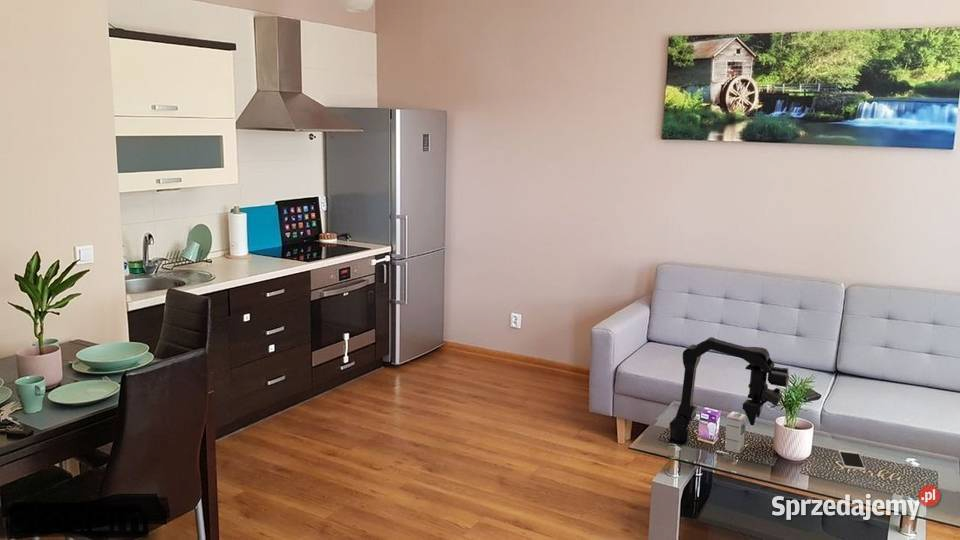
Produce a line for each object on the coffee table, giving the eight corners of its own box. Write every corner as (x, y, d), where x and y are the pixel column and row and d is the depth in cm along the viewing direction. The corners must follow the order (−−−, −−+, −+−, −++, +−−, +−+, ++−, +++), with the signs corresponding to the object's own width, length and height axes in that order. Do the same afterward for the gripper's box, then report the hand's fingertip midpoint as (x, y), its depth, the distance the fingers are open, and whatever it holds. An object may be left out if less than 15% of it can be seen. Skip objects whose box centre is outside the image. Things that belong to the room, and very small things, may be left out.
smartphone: (858, 453, 293) (858, 451, 293) (865, 471, 279) (866, 469, 279) (838, 451, 295) (838, 449, 295) (844, 469, 281) (844, 467, 281)
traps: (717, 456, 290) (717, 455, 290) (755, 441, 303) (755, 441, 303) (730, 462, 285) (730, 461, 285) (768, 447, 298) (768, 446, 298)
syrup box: (739, 454, 292) (742, 419, 289) (724, 450, 295) (726, 415, 292) (744, 449, 296) (747, 414, 293) (729, 445, 300) (731, 410, 297)
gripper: (775, 393, 271) (772, 434, 275) (785, 378, 287) (782, 417, 290) (743, 387, 277) (740, 427, 280) (755, 373, 293) (752, 411, 296)
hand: (754, 421), depth 287 cm, fingers open, 9 cm apart
